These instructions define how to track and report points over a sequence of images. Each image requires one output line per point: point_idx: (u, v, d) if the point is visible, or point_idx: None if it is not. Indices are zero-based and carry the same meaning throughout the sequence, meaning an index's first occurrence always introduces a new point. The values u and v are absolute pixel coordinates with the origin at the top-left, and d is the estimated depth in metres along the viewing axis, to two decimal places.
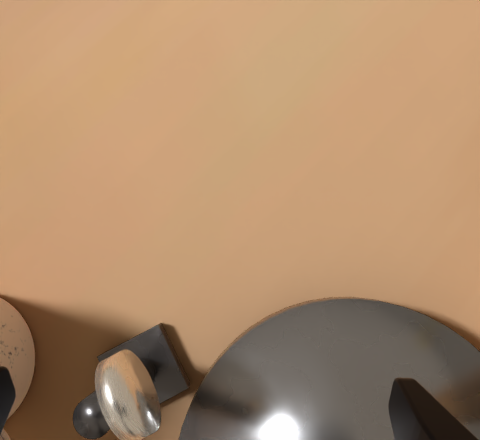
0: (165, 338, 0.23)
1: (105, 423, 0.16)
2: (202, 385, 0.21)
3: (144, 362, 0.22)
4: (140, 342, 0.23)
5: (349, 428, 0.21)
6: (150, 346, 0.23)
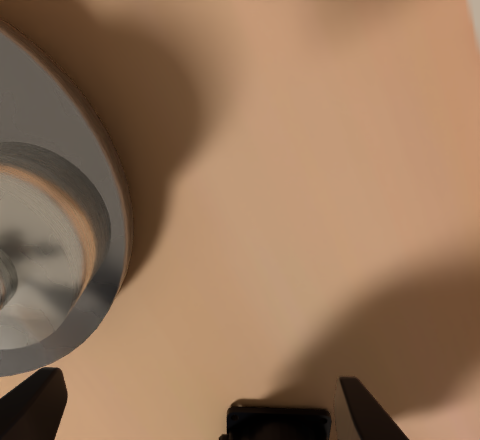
0: None
1: None
2: None
3: None
4: None
5: None
6: None
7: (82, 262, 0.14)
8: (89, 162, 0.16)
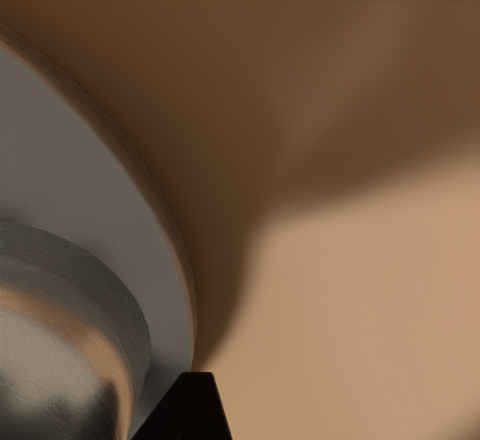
0: None
1: None
2: None
3: None
4: None
5: None
6: None
7: None
8: (141, 251, 0.10)
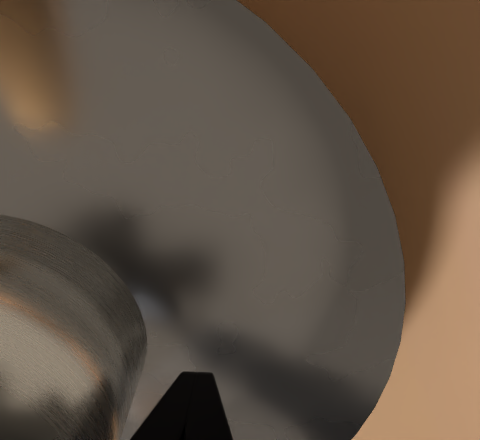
0: None
1: None
2: None
3: None
4: None
5: None
6: None
7: None
8: (376, 252, 0.09)
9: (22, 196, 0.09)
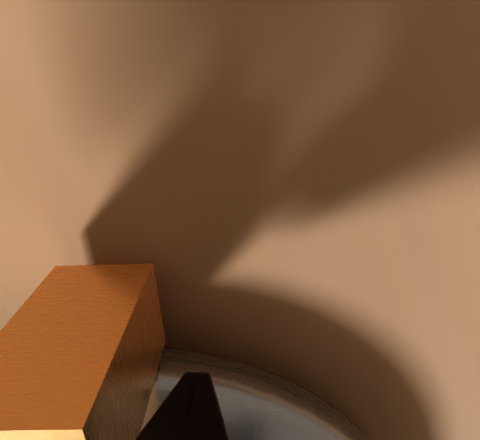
0: None
1: None
2: None
3: None
4: None
5: None
6: None
7: None
8: None
9: None
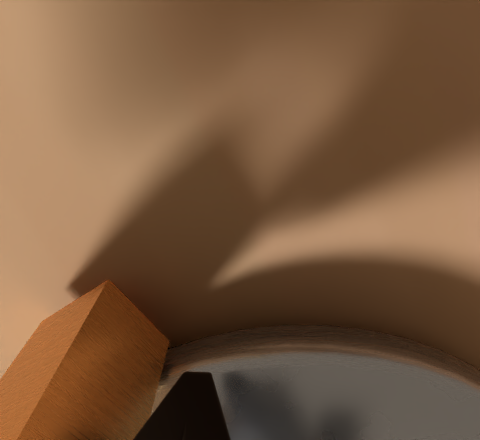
0: None
1: None
2: None
3: None
4: None
5: None
6: None
7: None
8: None
9: None
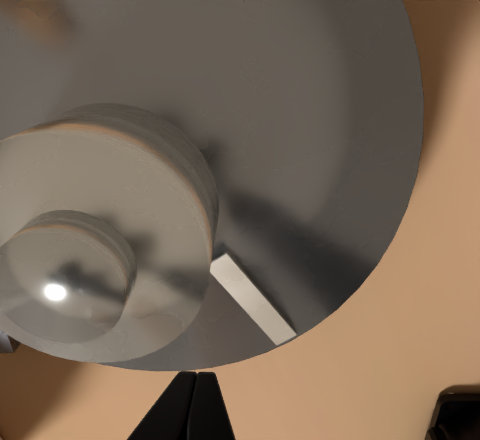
0: None
1: None
2: None
3: None
4: None
5: None
6: None
7: (193, 193, 0.10)
8: None
9: (55, 57, 0.12)
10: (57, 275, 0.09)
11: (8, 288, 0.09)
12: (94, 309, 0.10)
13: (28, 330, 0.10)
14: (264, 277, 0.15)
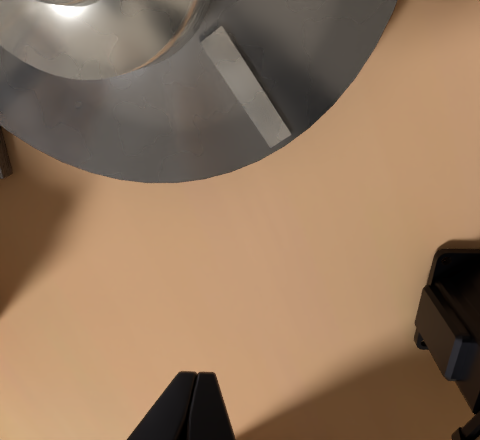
0: None
1: None
2: (66, 161, 0.17)
3: None
4: None
5: None
6: None
7: None
8: None
9: None
10: None
11: None
12: None
13: None
14: (260, 61, 0.15)
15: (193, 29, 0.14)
